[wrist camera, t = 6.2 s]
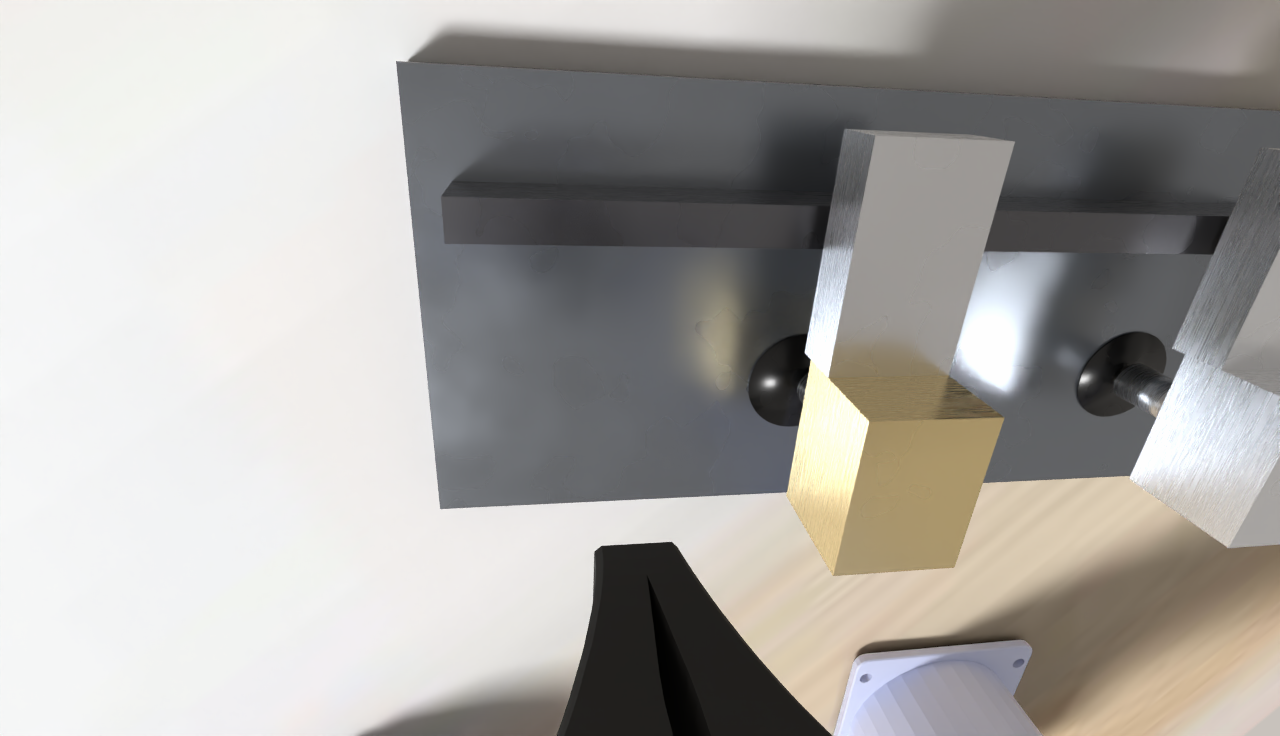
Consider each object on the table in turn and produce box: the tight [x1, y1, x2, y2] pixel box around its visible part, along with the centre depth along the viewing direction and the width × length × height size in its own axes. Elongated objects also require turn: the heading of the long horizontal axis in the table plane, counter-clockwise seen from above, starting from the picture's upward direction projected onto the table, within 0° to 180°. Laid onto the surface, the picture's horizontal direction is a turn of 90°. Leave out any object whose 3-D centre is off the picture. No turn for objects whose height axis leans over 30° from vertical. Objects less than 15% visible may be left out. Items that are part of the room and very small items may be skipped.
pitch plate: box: [396, 61, 1280, 548], centre depth 16 cm, size 12×25×7 cm, turn 87°
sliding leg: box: [786, 129, 1015, 576], centre depth 15 cm, size 9×3×5 cm, turn 177°
